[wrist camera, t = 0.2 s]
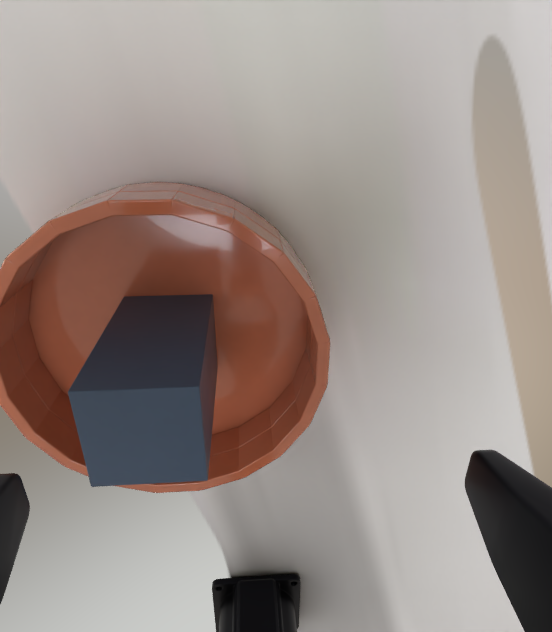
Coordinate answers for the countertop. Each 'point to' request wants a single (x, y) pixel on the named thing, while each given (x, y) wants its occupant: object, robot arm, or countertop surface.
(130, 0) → the countertop surface
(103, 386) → the block
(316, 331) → the bowl
